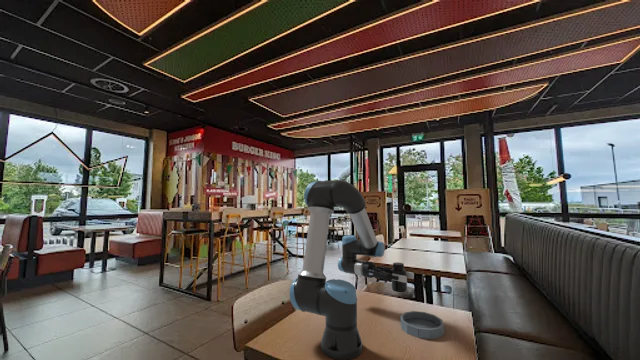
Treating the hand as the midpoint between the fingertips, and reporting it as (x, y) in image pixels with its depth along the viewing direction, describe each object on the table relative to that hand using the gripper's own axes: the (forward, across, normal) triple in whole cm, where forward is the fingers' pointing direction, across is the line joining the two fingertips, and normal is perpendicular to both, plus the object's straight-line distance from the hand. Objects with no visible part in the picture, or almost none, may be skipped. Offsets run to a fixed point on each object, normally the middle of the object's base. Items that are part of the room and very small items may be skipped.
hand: (409, 277), depth 118 cm
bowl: (+5, +1, -20) cm, 20 cm away
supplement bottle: (-5, 0, -7) cm, 8 cm away
